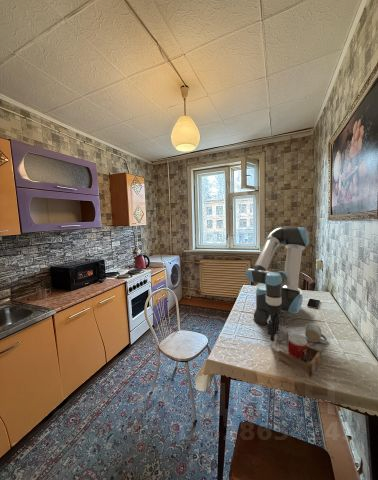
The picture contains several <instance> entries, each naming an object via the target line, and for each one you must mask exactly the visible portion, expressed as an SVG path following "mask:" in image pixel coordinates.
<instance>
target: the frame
mask: <svg viewBox="0 0 378 480" xmlns="http://www.w3.org/2000/svg"><path fill="white" fill-rule="evenodd" d="M307 358H310V359H312V360H311V361H310V362H309V363H308V362H304V361H302V360H300V359H297V358H295V357H293V356H291V355H289V354H288V352H287V353H286V352H284V351H282V350H279V351H278V362H279V363H282V364H284V365H287V367H289V368H291V369H294V370H296V371H298V372H300V373H301V374H304V375H305V376H307V377H309V378H312V376H313V374H314V373H315V372H316V370H317V368H318V367H319V365H320V363H321V362H322V350H320V349H317V348H315V347H312V346H310V345H307Z"/></svg>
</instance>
